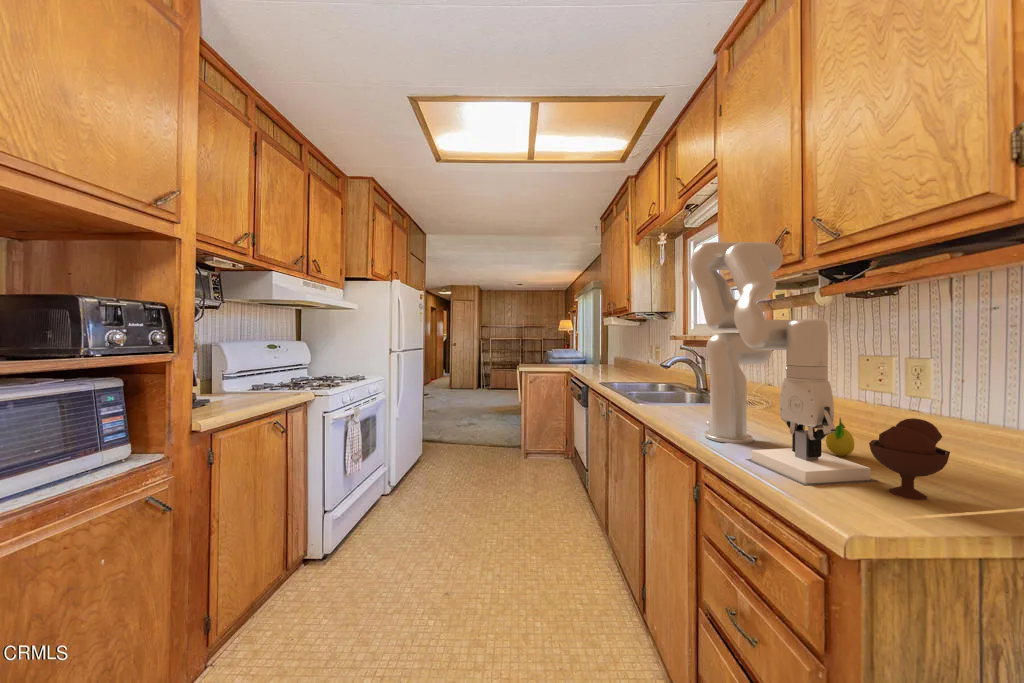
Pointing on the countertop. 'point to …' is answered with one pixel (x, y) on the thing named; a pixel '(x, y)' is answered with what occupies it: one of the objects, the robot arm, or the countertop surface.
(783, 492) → the countertop surface
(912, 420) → the ice cream bowl
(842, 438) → the lemon
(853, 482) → the mat
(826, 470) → the lid
